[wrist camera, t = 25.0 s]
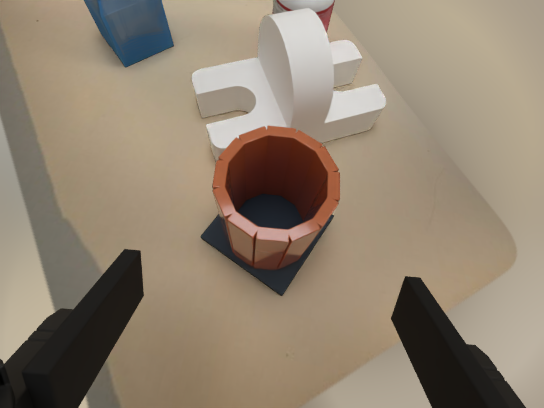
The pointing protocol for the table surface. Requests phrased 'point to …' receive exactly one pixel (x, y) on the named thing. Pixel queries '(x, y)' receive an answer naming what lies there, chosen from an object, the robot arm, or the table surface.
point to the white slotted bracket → (289, 85)
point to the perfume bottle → (132, 27)
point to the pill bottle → (319, 3)
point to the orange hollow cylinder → (275, 192)
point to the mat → (272, 215)
